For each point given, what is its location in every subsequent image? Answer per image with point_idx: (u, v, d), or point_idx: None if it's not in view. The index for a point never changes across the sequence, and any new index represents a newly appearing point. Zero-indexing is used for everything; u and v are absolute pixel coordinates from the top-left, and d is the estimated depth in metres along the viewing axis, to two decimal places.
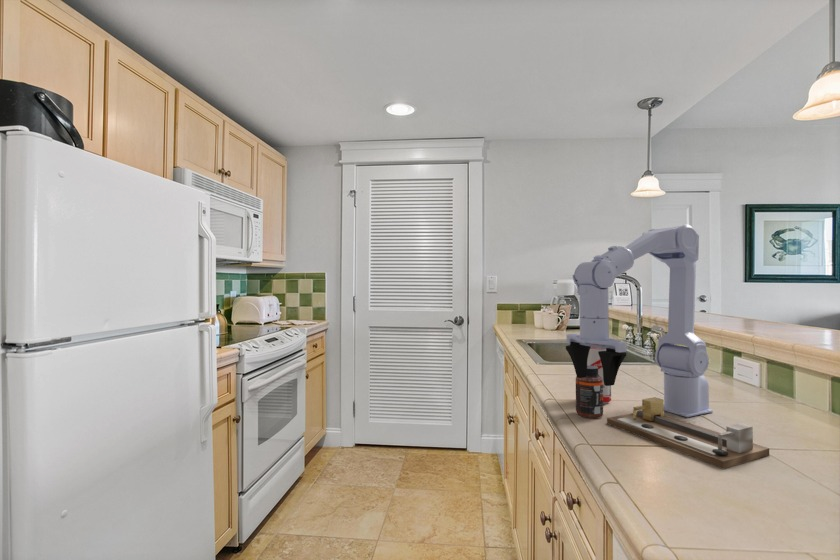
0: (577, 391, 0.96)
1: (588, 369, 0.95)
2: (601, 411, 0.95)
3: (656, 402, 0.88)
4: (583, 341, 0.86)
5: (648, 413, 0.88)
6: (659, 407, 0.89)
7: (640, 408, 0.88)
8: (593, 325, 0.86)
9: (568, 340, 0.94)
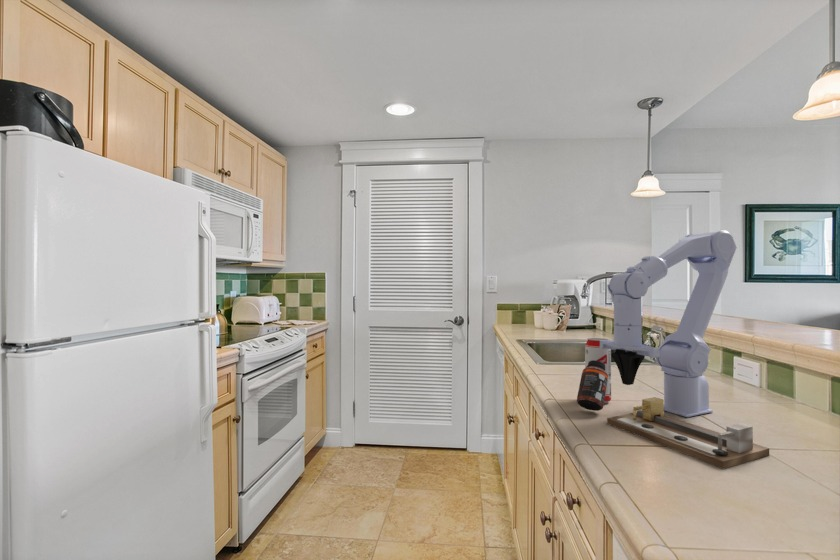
0: (582, 379, 1.00)
1: (596, 361, 1.02)
2: (602, 400, 0.96)
3: (656, 402, 0.88)
4: (618, 347, 0.93)
5: (648, 413, 0.88)
6: (659, 407, 0.89)
7: (640, 408, 0.88)
8: (627, 332, 0.93)
9: (601, 345, 1.01)
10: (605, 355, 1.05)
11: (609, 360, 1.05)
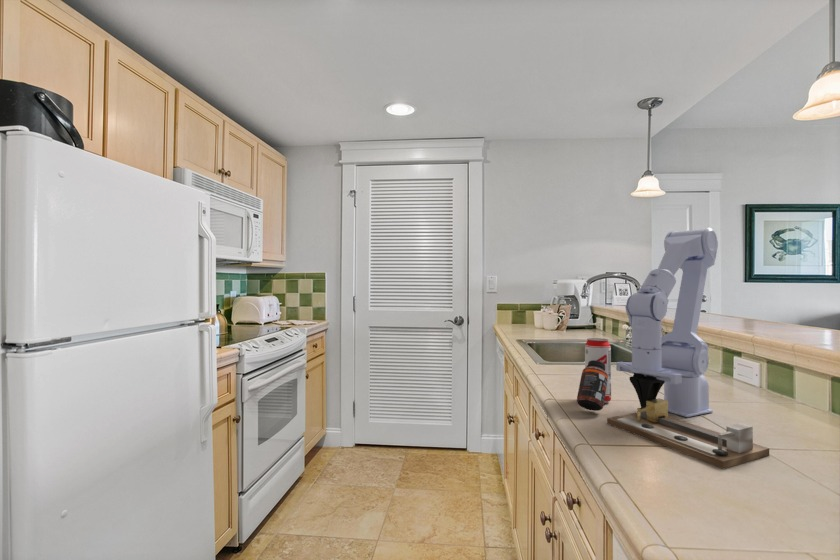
0: (582, 379, 1.00)
1: (596, 361, 1.02)
2: (602, 400, 0.96)
3: (660, 404, 0.87)
4: (637, 371, 0.88)
5: (652, 414, 0.87)
6: (663, 408, 0.88)
7: (644, 409, 0.87)
8: (647, 355, 0.88)
9: (618, 368, 0.96)
10: (605, 355, 1.05)
11: (609, 360, 1.05)
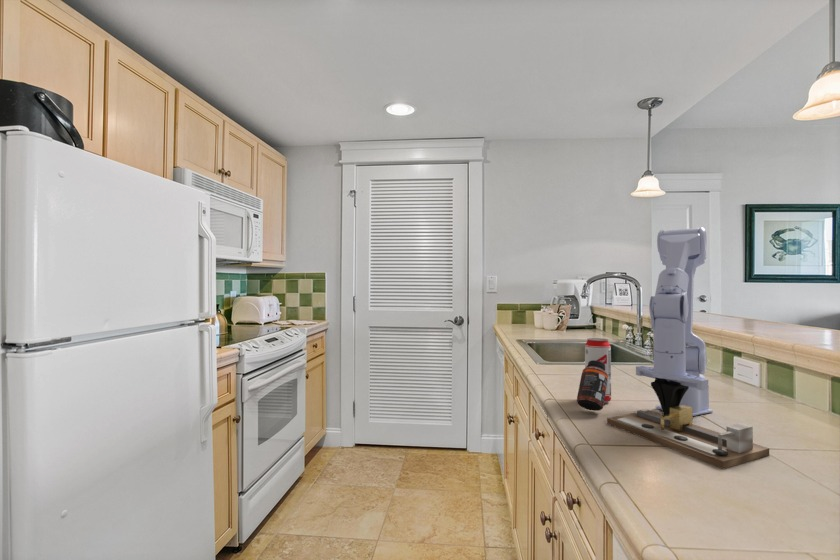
0: (582, 379, 1.00)
1: (596, 361, 1.02)
2: (602, 400, 0.96)
3: (684, 411, 0.83)
4: (660, 376, 0.84)
5: (676, 422, 0.82)
6: (688, 415, 0.83)
7: (668, 417, 0.82)
8: (670, 360, 0.83)
9: (638, 372, 0.92)
10: (605, 355, 1.05)
11: (609, 360, 1.05)
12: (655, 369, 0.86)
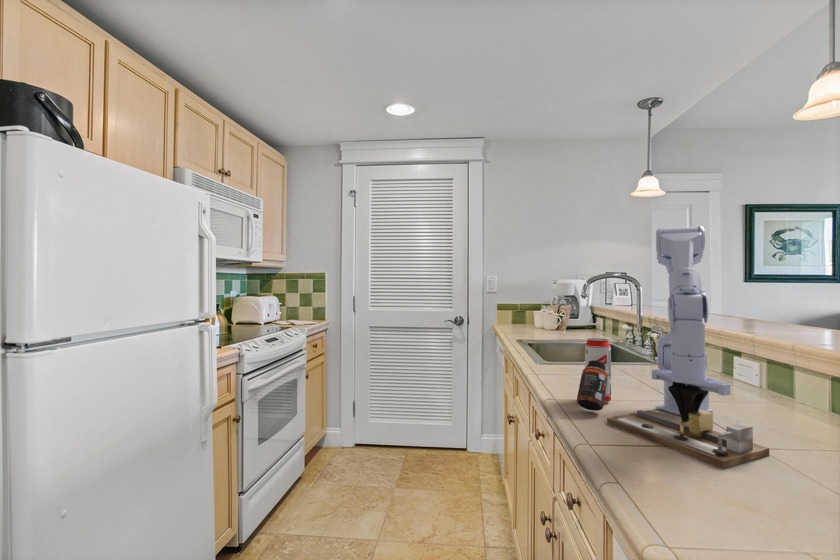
0: (582, 379, 1.00)
1: (596, 361, 1.02)
2: (602, 400, 0.96)
3: (704, 417, 0.79)
4: (679, 381, 0.80)
5: (696, 428, 0.79)
6: (708, 421, 0.79)
7: (688, 423, 0.78)
8: (690, 363, 0.80)
9: (654, 376, 0.88)
10: (605, 355, 1.05)
11: (609, 360, 1.05)
12: (673, 373, 0.82)
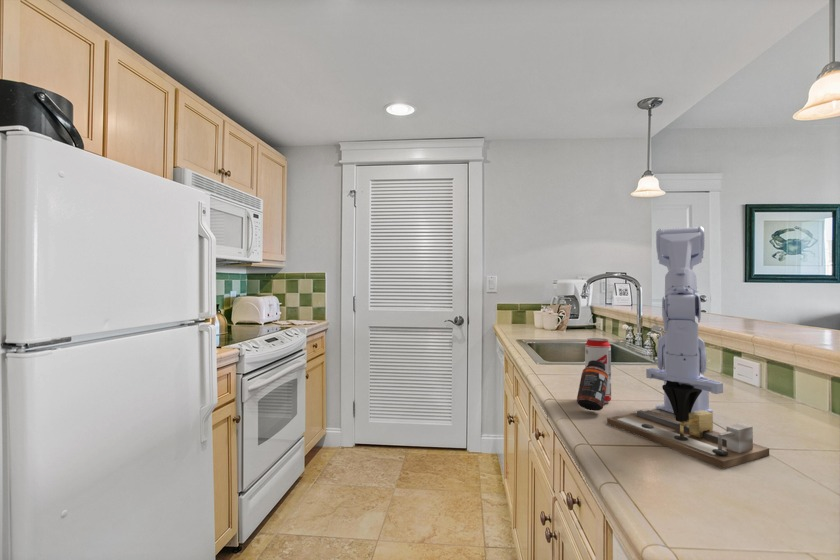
0: (582, 379, 1.00)
1: (596, 361, 1.02)
2: (602, 400, 0.96)
3: (704, 417, 0.79)
4: (672, 380, 0.81)
5: (696, 428, 0.79)
6: (708, 421, 0.79)
7: (688, 423, 0.78)
8: (683, 362, 0.81)
9: (648, 375, 0.89)
10: (605, 355, 1.05)
11: (609, 360, 1.05)
12: (667, 372, 0.84)
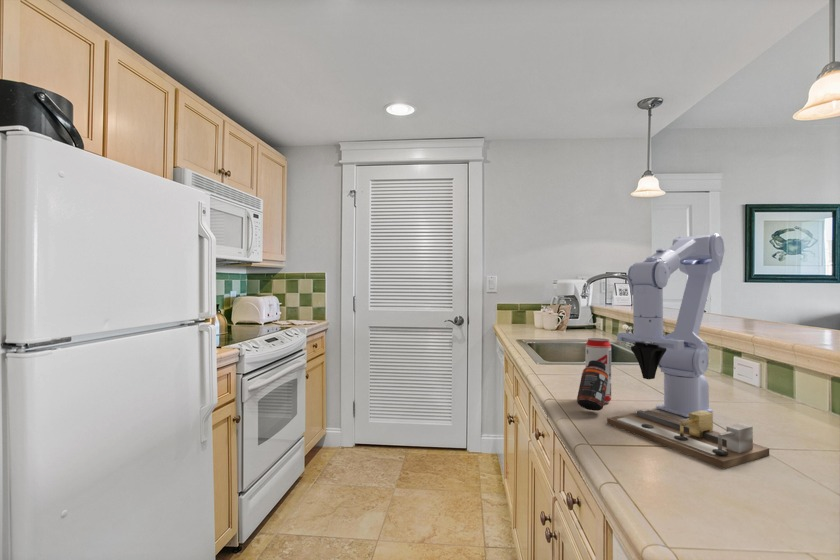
0: (582, 379, 1.00)
1: (596, 361, 1.02)
2: (602, 400, 0.96)
3: (704, 417, 0.79)
4: (639, 339, 0.88)
5: (696, 428, 0.79)
6: (708, 421, 0.79)
7: (688, 423, 0.78)
8: (649, 323, 0.88)
9: (619, 339, 0.96)
10: (605, 355, 1.05)
11: (609, 360, 1.05)
12: (635, 333, 0.91)
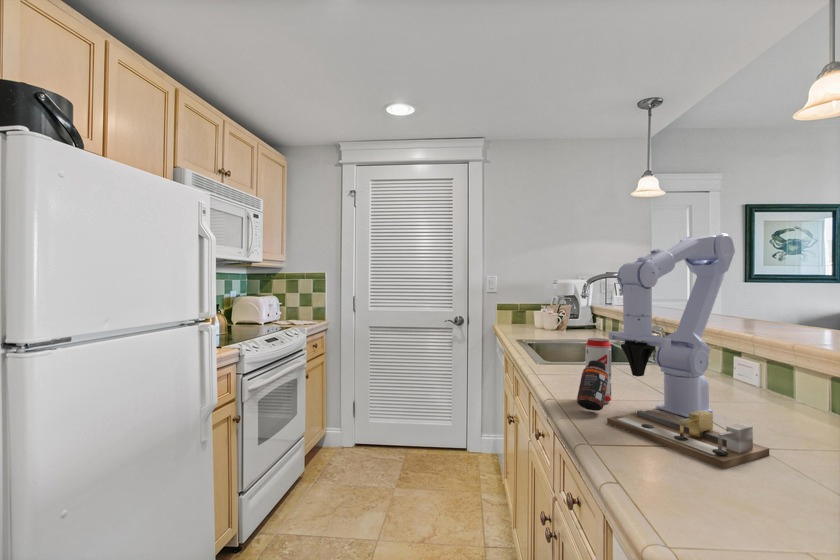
0: (582, 379, 1.00)
1: (596, 361, 1.02)
2: (602, 400, 0.96)
3: (704, 417, 0.79)
4: (628, 337, 0.91)
5: (696, 428, 0.79)
6: (708, 421, 0.79)
7: (688, 423, 0.78)
8: (638, 322, 0.91)
9: (610, 337, 0.99)
10: (605, 355, 1.05)
11: (609, 360, 1.05)
12: (624, 332, 0.93)
